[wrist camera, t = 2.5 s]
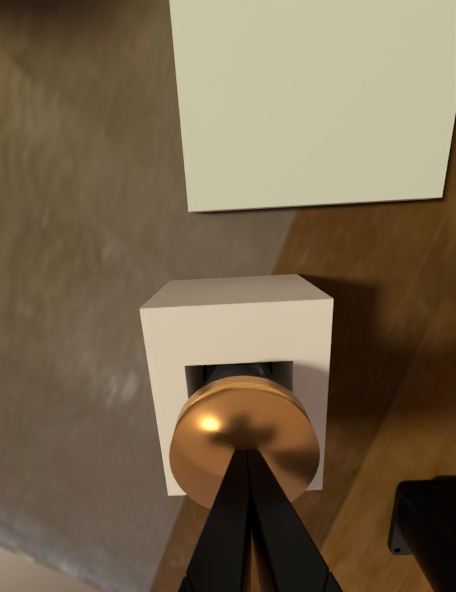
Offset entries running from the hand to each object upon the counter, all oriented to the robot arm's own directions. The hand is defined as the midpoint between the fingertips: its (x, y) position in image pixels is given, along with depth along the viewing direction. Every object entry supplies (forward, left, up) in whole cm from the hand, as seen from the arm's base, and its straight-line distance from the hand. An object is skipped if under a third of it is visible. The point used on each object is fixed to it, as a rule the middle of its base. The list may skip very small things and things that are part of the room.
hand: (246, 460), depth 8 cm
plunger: (0, 0, -6) cm, 6 cm away
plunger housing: (0, 0, -7) cm, 7 cm away
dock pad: (+14, -4, -7) cm, 16 cm away
